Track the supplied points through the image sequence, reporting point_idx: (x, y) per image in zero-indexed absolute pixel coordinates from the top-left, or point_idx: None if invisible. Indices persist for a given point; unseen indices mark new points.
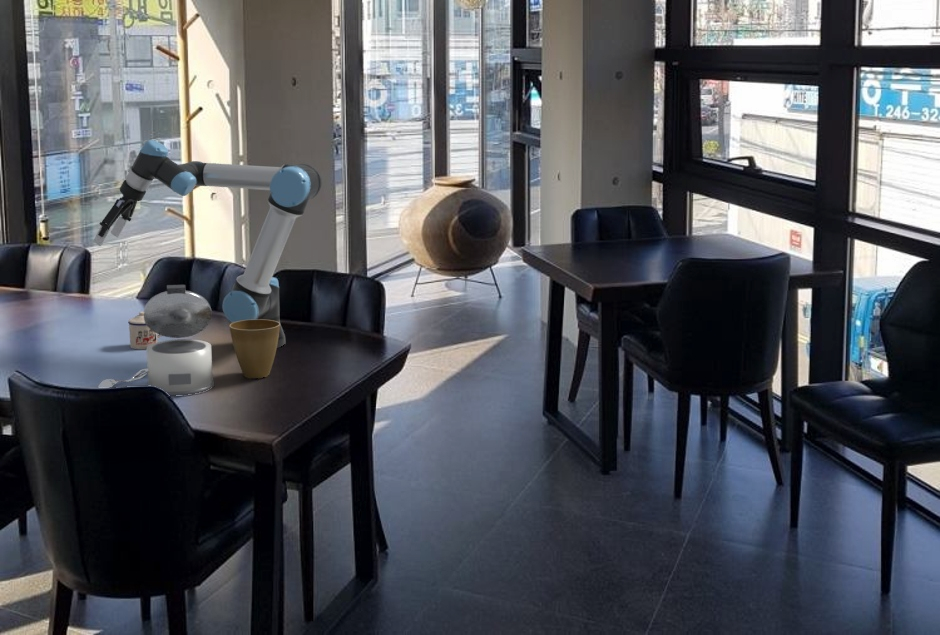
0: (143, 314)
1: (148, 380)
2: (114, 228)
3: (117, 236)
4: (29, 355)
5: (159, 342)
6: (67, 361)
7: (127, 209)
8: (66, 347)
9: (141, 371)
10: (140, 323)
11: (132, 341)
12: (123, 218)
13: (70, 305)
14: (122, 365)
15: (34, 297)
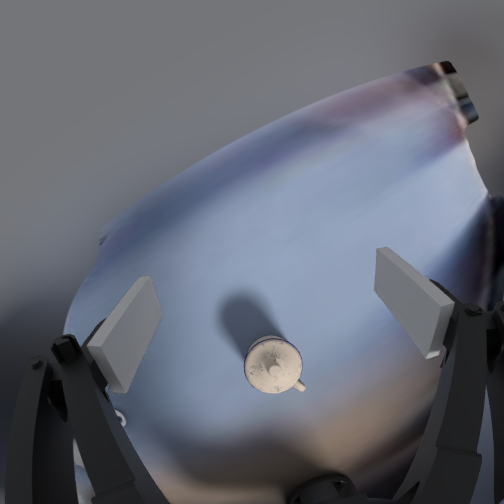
0: (270, 375)
1: (74, 439)
2: (392, 271)
3: (376, 290)
4: (174, 207)
5: (81, 464)
6: (153, 281)
7: (412, 471)
8: (230, 233)
9: (121, 416)
10: (246, 376)
11: (249, 349)
12: (446, 329)
13: (432, 129)
14: (153, 374)
15: (431, 87)
